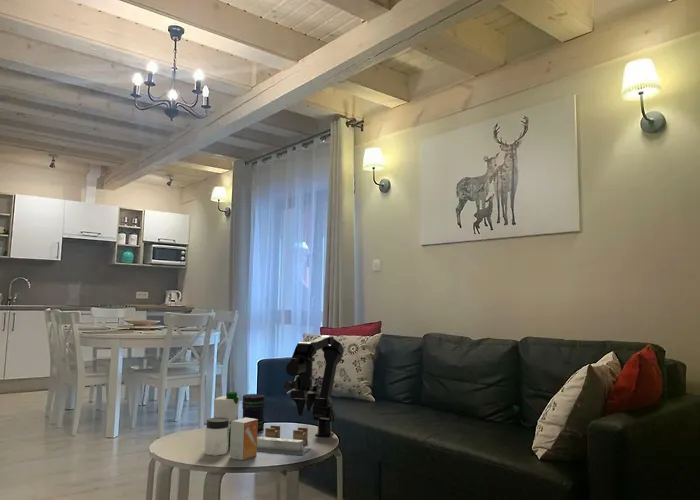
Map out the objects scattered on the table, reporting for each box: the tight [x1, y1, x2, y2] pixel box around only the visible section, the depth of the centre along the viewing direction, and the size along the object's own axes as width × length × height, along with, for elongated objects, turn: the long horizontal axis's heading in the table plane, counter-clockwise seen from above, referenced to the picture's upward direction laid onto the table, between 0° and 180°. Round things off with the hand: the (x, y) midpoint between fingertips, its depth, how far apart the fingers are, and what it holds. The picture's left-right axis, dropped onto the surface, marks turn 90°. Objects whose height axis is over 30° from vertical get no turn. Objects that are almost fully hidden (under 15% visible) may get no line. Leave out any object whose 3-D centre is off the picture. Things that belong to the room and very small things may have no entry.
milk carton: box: [213, 391, 240, 448], centre depth 210 cm, size 9×9×20 cm
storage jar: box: [241, 393, 266, 433], centre depth 234 cm, size 10×10×15 cm
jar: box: [204, 417, 229, 457], centre depth 197 cm, size 9×8×12 cm
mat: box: [257, 447, 312, 456], centre depth 201 cm, size 9×24×1 cm, turn 75°
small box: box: [229, 417, 258, 461], centre depth 193 cm, size 8×6×13 cm
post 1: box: [264, 425, 281, 438], centre depth 215 cm, size 6×4×6 cm
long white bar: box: [257, 436, 304, 452], centre depth 202 cm, size 4×20×4 cm, turn 75°
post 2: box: [292, 426, 309, 445], centre depth 212 cm, size 6×4×6 cm
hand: (304, 413), depth 211 cm, fingers open, 9 cm apart
